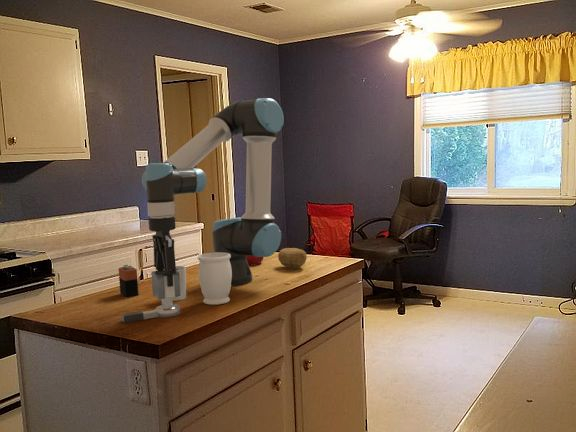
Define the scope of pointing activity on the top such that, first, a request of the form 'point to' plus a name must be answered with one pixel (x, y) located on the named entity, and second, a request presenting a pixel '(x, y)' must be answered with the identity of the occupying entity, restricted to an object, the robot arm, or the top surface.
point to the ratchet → (154, 312)
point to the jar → (215, 277)
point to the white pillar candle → (181, 282)
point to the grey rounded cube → (159, 284)
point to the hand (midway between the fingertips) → (166, 294)
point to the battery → (128, 281)
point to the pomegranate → (253, 260)
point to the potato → (292, 257)
